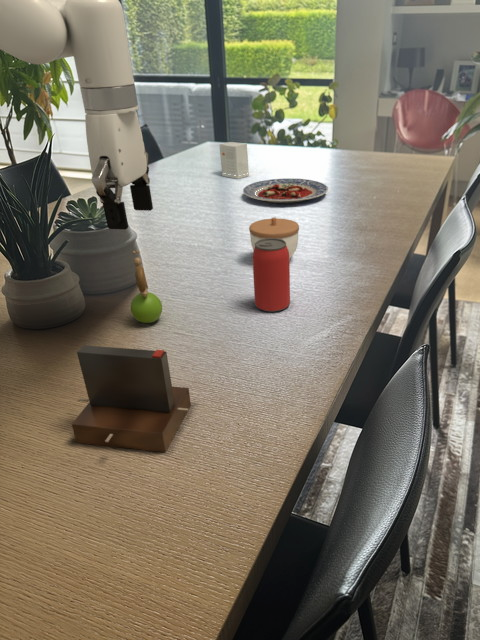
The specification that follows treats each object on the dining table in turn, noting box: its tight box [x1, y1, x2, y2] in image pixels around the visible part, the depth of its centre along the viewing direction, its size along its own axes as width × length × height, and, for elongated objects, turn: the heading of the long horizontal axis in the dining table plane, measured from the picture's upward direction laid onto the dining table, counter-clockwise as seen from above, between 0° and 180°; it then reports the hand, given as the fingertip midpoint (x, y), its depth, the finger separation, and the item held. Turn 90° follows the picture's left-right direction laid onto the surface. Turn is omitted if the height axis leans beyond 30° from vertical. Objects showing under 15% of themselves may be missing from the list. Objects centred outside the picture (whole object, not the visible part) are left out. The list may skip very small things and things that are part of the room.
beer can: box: [251, 238, 291, 313], centre depth 99 cm, size 7×7×12 cm
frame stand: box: [71, 386, 192, 453], centre depth 72 cm, size 15×15×3 cm
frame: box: [76, 344, 175, 413], centre depth 69 cm, size 11×2×8 cm, turn 79°
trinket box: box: [248, 217, 300, 259], centre depth 120 cm, size 11×11×9 cm
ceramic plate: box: [242, 178, 329, 204], centre depth 167 cm, size 26×26×3 cm
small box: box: [219, 141, 250, 180], centre depth 188 cm, size 8×6×10 cm
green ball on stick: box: [130, 250, 163, 324], centre depth 96 cm, size 5×6×12 cm
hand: (131, 218), depth 88 cm, fingers open, 9 cm apart
